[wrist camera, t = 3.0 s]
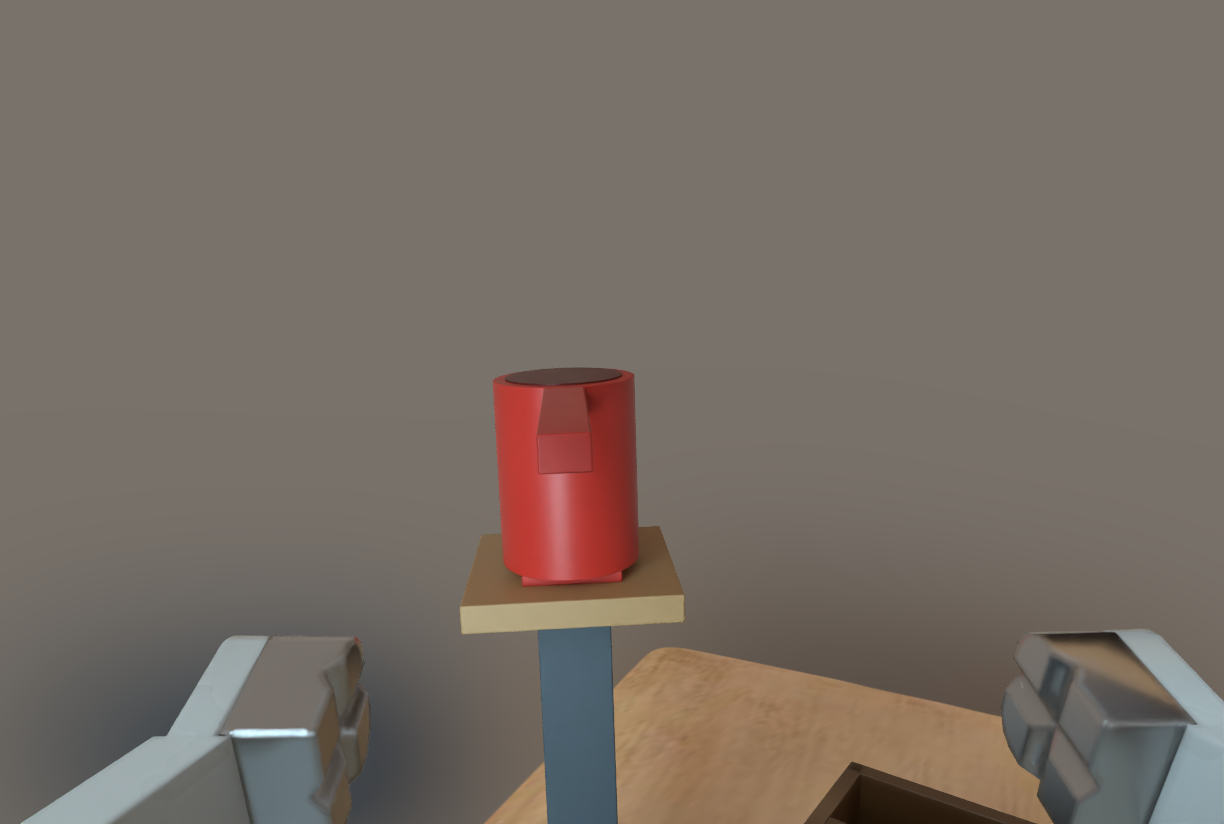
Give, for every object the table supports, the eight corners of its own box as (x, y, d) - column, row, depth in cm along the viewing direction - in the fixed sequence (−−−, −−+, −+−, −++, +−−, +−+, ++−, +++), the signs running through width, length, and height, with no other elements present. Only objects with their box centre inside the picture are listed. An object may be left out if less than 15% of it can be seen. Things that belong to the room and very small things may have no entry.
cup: (508, 547, 40) (498, 369, 39) (633, 541, 40) (628, 363, 39) (476, 713, 25) (457, 435, 24) (674, 702, 26) (668, 426, 24)
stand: (508, 966, 47) (481, 534, 42) (669, 954, 47) (659, 525, 43) (495, 1131, 38) (459, 606, 33) (694, 1114, 38) (684, 594, 34)
